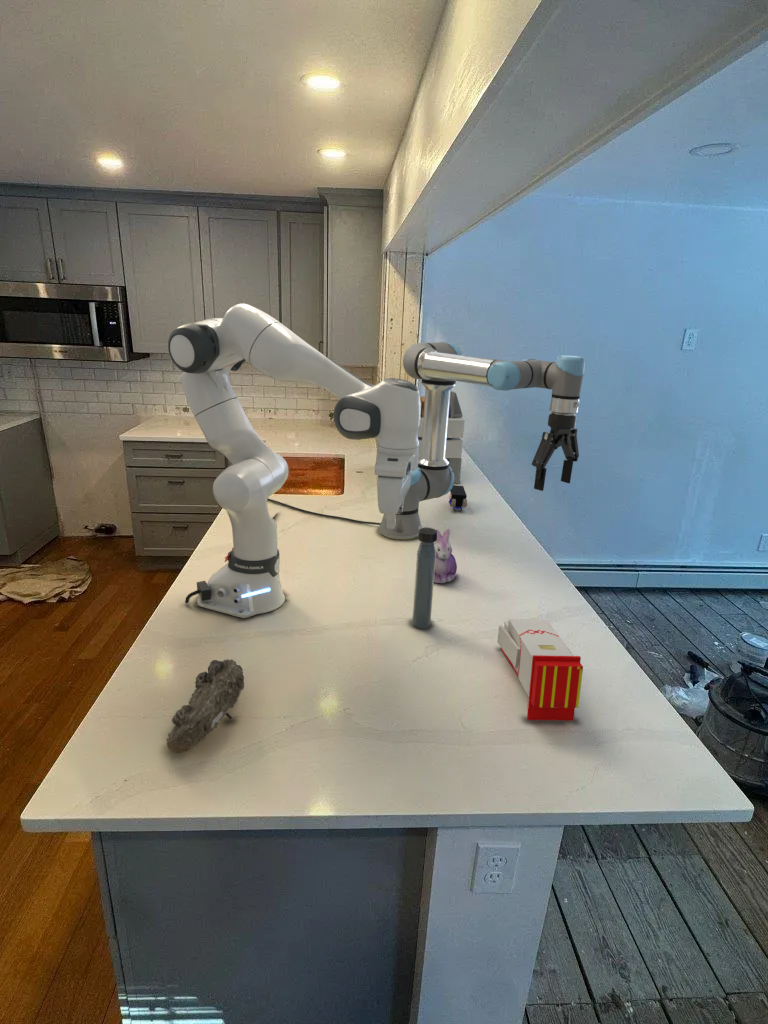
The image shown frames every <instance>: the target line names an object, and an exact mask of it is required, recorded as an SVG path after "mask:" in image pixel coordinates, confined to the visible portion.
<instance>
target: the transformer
mask: <svg viewBox="0 0 768 1024" xmlns="http://www.w3.org/2000/svg"><path fill="white" fill-rule="evenodd" d="M424 404H425V396H420V405H421V417H420V427H419V430H418V440H419V457H418V458H420V457H421V449H422V434H423V419H424ZM464 429H465V419H464V418H463V411H462V408H461V405H460V402H459V398H458V395H457V392H455V391H453V390H451V392H450V404H449V416H448V428H447V441H446V453H445V458H446V459H447V461H448V462H449V466H450V467H451V469H452V473H454V484H455V483H456V484H459V483H461V472H462V461H463V460H462V453H463V442H464V441H463V440H462V439H463V438H464V431H465V430H464Z"/></svg>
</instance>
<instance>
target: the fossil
mask: <svg viewBox="0 0 768 1024" xmlns="http://www.w3.org/2000/svg"><path fill="white" fill-rule="evenodd" d="M243 670H244V669H243V667H242V665H240V664H237V662H236V661H235V660H234V659H232V658H231V659H227V658H226V659H224V660H223V661H222V660H217V659H212V660H211V661H210V663H209V665H208V666H207V671H201V672H199V673H198V674H197V675H196V676H195V680H194V684H195V685H194V687H195V689H194V690H193V693H192V694H191V697H190V698H189V700H188V704H184V705H182V706H181V707H180V709H177V710H176V711H175V713H174V715H173V716H172V718H171V723H172V724H173V727H172V730H171V731H170V732H168V734H167V738H166V741H167V742H166V745H167V749H168V750H169V751H173V752H174V753H176V754H178V753H182V752H188V751H189V752H192V751H193V750H195V748H196V747H197V746H199V744H200V743H201V742H203V741H204V740H205V739H206V738H207V737H208V736H209V735H210V734H211V733H212V732H214V730H215V729H217V727H218V726H219V724H220V722H221V721H222V720H223V719H224V718H225V716H226V717H227V719H229V720H233V717H232V715H230V714H229V710H230V709H231V708H234V706H235V704H236V703H237V702H238V699H239V697H240V695H241V693H242V691H243V690H245V689H244V688H245V675H244V671H243Z"/></svg>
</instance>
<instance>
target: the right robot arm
mask: <svg viewBox="0 0 768 1024" xmlns="http://www.w3.org/2000/svg"><path fill="white" fill-rule="evenodd" d="M585 365H586V360H585V358H584V357H582V356H578V355H566V354H565V355H564V354H563V355H558V356H557V357H556V360H555V361H549V360H541V359H536V358H524V359H521V360H506V359H505V360H504V359H503V360H502V359H496V358H487V357H479V356H471V355H464V354H463V352H462V350H461V349H460V347H459V346H457V345H456V344H455V343H451V342H445V341H443V342H442V341H441V342H440V341H439V342H438V341H437V342H417V343H414V344H412V345H411V346H409V347H408V348H407V350H406V351H405V353H404V355H403V358H402V366H403V369H404V372H405V373H406V374H407V375H408V376H409V377H411V378H412V379H415V380H421V385H422V386H423V387H424V389H425V392H424V397H425V404H424V419H423V434H422V449H421V457H420V458H418V468H416V469H415V470H413V471H412V475H411V485H410V488H409V490H408V492H407V494H406V496H405V499H404V504H403V512H402V513H401V514H396V526H395V528H394V529H388V528H387V527H386V517H385V514H383V515H382V519H381V522H375V521H365V520H358V519H354V518H353V519H352V518H348V517H342V516H337V515H331V514H330V515H329V514H324V513H318V512H315V511H310V510H306V509H302V508H300V507H296V506H293V505H291V504H287V503H283V502H281V501H278V500H275V499H271V498H268V501H270V502H272V503H276V504H278V505H282V506H285V507H287V508H290V509H293V510H297V511H299V512H303V513H307V514H311V515H314V516H320V517H325V518H332V519H339V520H343V521H348V522H353V523H359V524H366V525H374V526H375V525H376V526H378V533H379V534H380V535H381V536H382V537H385V538H387V539H389V540H395V541H410V540H415V539H419V538H418V537H419V530H420V529H421V528H423V525H422V524H421V518H420V515H419V507H420V506H419V505H420V502H423V501H427V500H431V499H437V498H440V497H443V496H446V495H448V493H450V490H451V489H452V487H453V485H454V484H455V483H454V473H452V469H451V467H450V466H449V462H448V461H447V459H446V458H445V453H446V441H447V428H448V416H449V404H450V392H451V391H452V389H453V388H454V387H455V386H456V384H457V382H461V383H465V384H473V385H479V386H487V387H491V388H492V389H494V390H496V391H503V392H504V391H511V390H520V389H532V388H533V389H534V388H539V389H546V390H551V398H550V404H549V413H548V418H547V419H548V420H547V426H548V427H549V428H550V431H549V432H548V431H543V432H542V435H541V440H540V442H539V445H538V447H537V449H536V452H535V454H534V457H533V460H532V461H531V466H533V467H535V475H534V477H535V478H534V485H533V489H534V490H537V491H539V492H543V491H544V489H545V484H546V483H545V482H546V476H547V468H546V466H547V465H548V463H549V461H550V459H551V457H552V456H553V454H554V453H555V451H556V450H557V449H558V448H560V447H561V449H562V452H563V455H564V458H565V459H563V463H562V468H561V469H562V470H561V475H560V482H562V483H566V484H571V478H572V472H573V466H574V463H576V462H578V461H579V457H580V453H579V444H578V428H576V423H577V419H578V416H577V414H578V412H579V411H578V410H579V406H580V397H581V391H582V385H583V380H584V376H585ZM268 501H267V502H268Z"/></svg>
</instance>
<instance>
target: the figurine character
mask: <svg viewBox="0 0 768 1024" xmlns="http://www.w3.org/2000/svg"><path fill="white" fill-rule="evenodd" d="M467 495H468V494H467V493H466V490H465V487H464V485H456V484H455V485H454V484H453V487H452V489H451V490H450V491H449V496H448V499H449V500H448V504H449V506H450V507H451V508H452V510H453V512H456V510H458V509H459V510H460V512H463V509H464V508H465V509H466V508H467V506H468V499H467V497H468V496H467Z"/></svg>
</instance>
